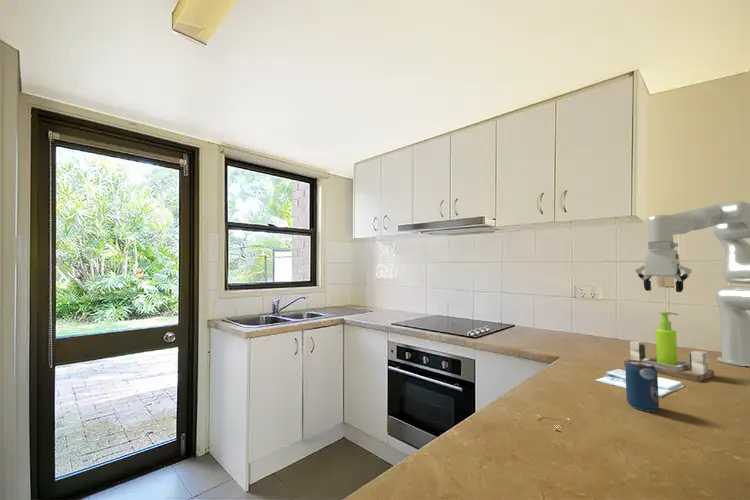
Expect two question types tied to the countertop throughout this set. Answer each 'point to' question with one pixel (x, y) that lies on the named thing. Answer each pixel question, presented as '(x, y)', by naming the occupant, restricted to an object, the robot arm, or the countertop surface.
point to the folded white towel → (619, 380)
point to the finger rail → (683, 370)
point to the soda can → (642, 385)
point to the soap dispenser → (666, 341)
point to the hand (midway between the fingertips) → (663, 291)
